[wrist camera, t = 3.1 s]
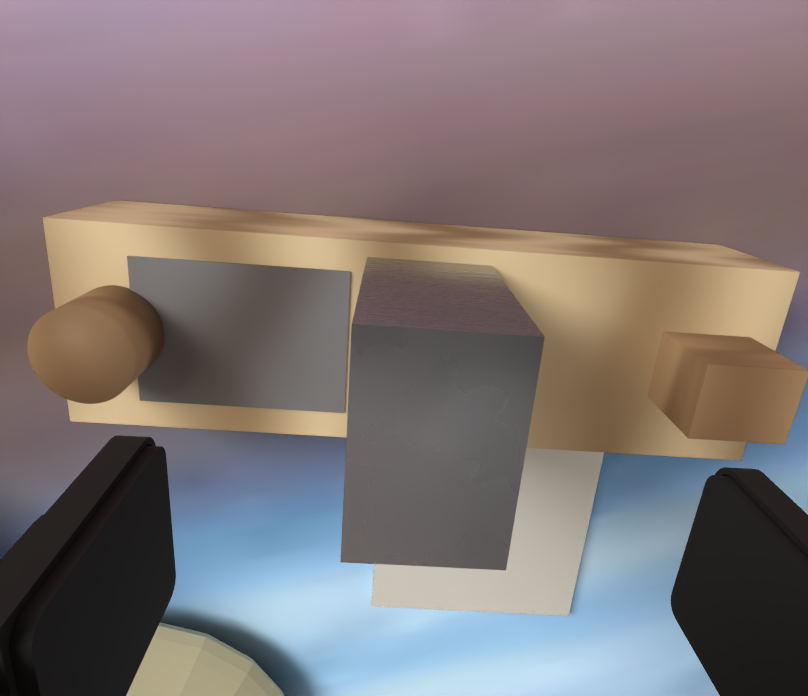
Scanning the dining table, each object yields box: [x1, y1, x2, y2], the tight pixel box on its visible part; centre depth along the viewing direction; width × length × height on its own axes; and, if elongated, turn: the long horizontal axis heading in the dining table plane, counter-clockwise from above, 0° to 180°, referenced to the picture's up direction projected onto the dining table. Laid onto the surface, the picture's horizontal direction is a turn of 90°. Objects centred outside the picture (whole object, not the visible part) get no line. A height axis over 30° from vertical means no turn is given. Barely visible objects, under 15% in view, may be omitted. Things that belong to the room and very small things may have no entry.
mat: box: [372, 448, 604, 616], centre depth 28 cm, size 10×10×1 cm
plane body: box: [28, 200, 808, 460], centre depth 21 cm, size 24×7×8 cm, turn 86°
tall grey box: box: [341, 257, 545, 570], centre depth 16 cm, size 4×6×7 cm, turn 176°
